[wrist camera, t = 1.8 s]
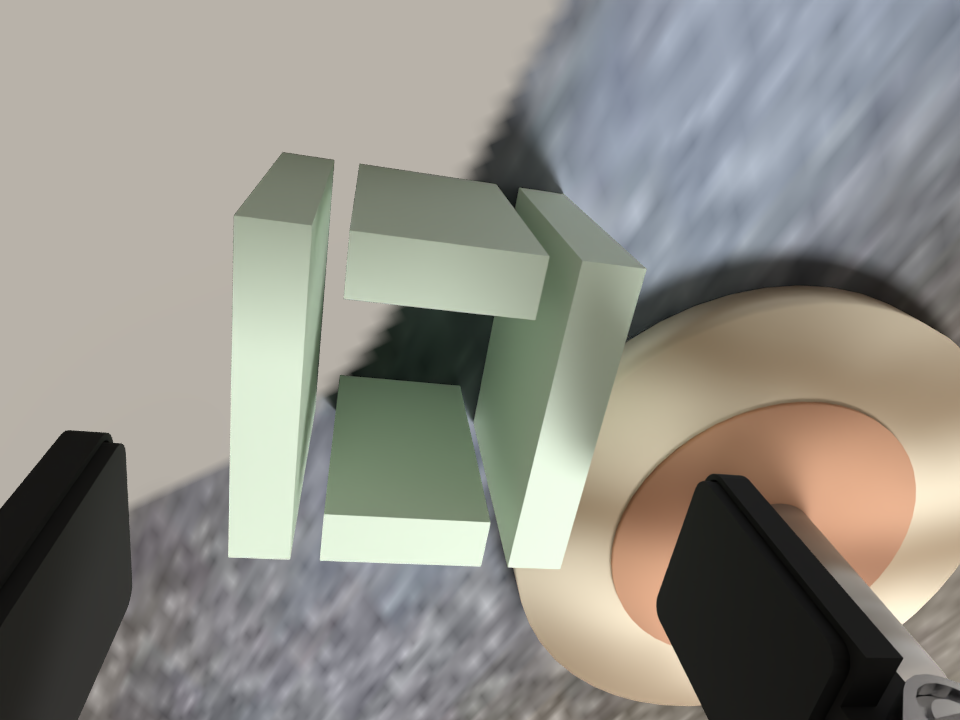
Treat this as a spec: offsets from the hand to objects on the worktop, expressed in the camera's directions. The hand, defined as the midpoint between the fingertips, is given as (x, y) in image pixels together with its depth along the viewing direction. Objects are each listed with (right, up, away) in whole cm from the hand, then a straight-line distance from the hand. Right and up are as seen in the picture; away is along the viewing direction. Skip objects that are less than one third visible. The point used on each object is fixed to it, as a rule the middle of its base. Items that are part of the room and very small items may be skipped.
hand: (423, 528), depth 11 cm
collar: (-1, +4, +7) cm, 8 cm away
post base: (+10, -2, +12) cm, 16 cm away
